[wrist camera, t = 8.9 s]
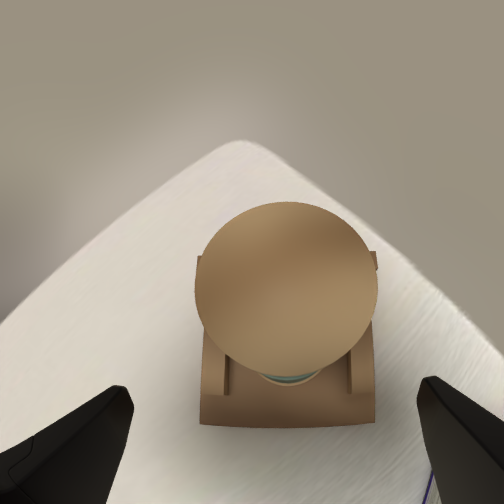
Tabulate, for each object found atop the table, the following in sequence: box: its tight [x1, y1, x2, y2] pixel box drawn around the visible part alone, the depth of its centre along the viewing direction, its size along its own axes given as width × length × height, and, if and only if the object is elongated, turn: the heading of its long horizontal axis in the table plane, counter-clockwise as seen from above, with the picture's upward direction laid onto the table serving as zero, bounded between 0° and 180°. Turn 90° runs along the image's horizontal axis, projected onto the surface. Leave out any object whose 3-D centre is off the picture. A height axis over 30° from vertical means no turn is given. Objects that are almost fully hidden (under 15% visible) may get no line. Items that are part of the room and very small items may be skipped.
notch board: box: [196, 251, 378, 428], centre depth 20 cm, size 11×12×4 cm
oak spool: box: [195, 202, 378, 386], centre depth 15 cm, size 6×6×13 cm
